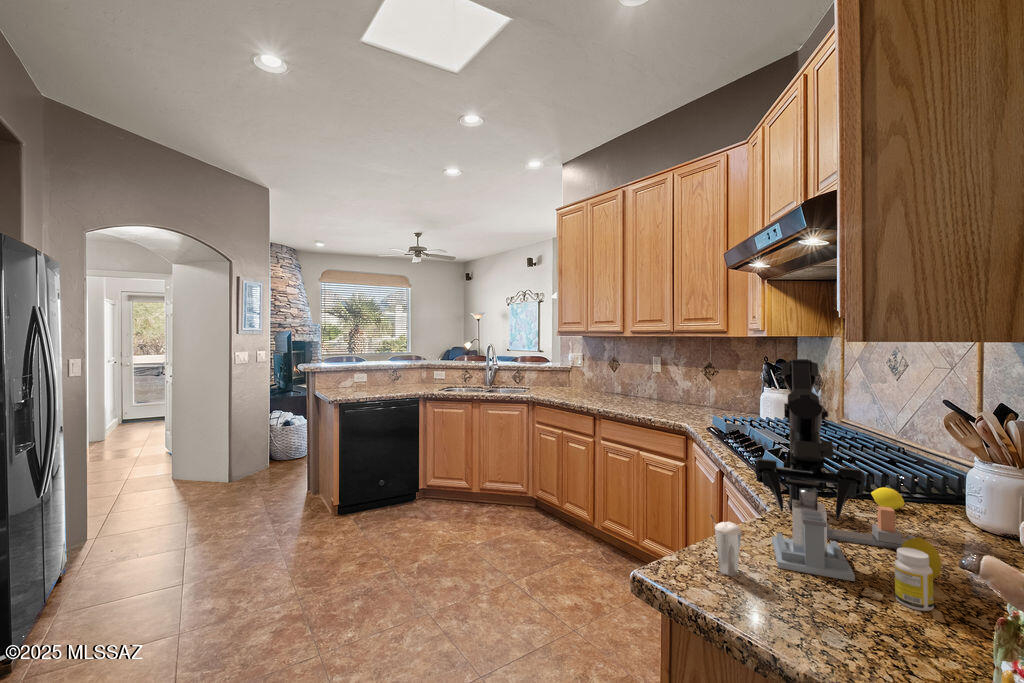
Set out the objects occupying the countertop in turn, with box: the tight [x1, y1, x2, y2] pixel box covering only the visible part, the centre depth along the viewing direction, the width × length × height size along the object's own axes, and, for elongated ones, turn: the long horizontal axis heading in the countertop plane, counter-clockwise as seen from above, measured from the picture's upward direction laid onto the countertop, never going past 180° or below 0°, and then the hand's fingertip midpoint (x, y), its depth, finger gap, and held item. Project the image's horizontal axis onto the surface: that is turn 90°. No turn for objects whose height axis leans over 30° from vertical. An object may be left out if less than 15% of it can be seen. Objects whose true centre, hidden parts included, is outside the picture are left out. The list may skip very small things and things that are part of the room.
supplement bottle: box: [893, 547, 935, 612], centre depth 74 cm, size 5×5×8 cm
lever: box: [871, 505, 903, 544], centre depth 96 cm, size 4×4×6 cm
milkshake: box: [710, 514, 742, 577], centre depth 86 cm, size 4×5×10 cm
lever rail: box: [827, 523, 916, 550], centre depth 98 cm, size 4×16×2 cm, turn 64°
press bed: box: [771, 515, 856, 582], centre depth 90 cm, size 13×12×10 cm
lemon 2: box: [901, 536, 942, 580], centre depth 81 cm, size 6×6×8 cm
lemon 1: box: [870, 486, 905, 511], centre depth 118 cm, size 7×5×5 cm
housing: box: [791, 488, 828, 557], centre depth 90 cm, size 6×6×12 cm
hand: (809, 514), depth 89 cm, fingers open, 9 cm apart
